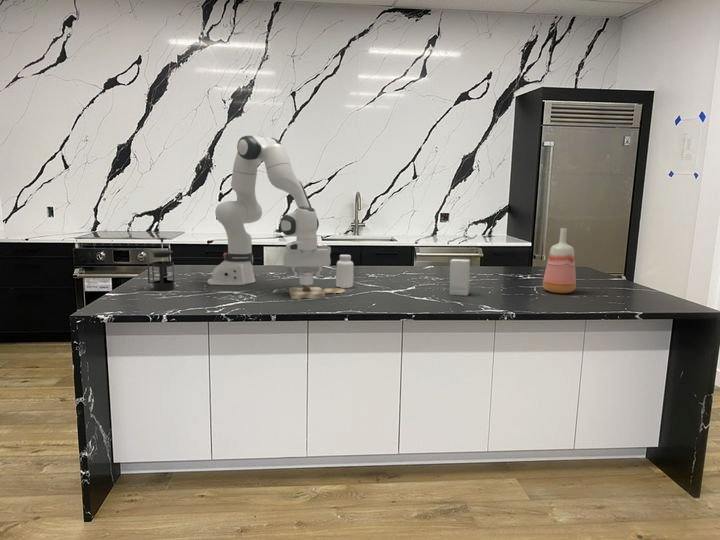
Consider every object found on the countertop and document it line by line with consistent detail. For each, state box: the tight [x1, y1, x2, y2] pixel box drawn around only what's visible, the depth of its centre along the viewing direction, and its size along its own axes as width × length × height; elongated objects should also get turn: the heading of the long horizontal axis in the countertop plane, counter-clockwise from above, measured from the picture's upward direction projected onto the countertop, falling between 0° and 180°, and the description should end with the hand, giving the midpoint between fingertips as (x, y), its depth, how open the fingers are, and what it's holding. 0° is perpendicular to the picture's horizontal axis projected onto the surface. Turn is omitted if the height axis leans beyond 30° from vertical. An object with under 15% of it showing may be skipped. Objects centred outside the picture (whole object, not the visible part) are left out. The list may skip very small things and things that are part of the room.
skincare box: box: [449, 258, 471, 296], centre depth 245 cm, size 8×7×16 cm
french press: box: [147, 237, 176, 292], centre depth 244 cm, size 12×9×23 cm
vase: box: [542, 227, 577, 294], centre depth 254 cm, size 14×14×30 cm
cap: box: [299, 270, 314, 286], centre depth 237 cm, size 6×6×6 cm
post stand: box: [288, 285, 326, 300], centre depth 238 cm, size 14×14×9 cm
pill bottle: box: [335, 254, 354, 289], centre depth 258 cm, size 8×8×15 cm
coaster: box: [322, 287, 346, 295], centre depth 247 cm, size 10×10×1 cm
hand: (307, 276), depth 237 cm, fingers open, 8 cm apart
